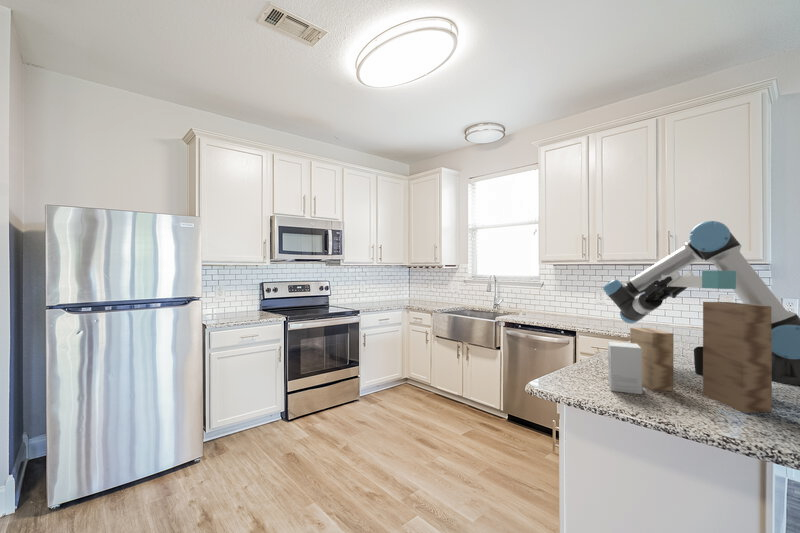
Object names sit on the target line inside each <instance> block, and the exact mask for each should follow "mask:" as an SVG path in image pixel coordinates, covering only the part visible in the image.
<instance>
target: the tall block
mask: <svg viewBox="0 0 800 533" xmlns="http://www.w3.org/2000/svg"><path fill="white" fill-rule="evenodd" d="M702 347H703V375H702V396H703V397H707V398H709V399H711V400H713V401H716V402H719V403H721V404H723V405H725V406H728V407H730V408H732V409H735V410H737V411H739V412H742V413H772V412H773V411H772V409H773V403H772V401H773V400H772V399H773V398H772V396H773V395H772V394H773V392H772V391H773V390H772V383H773V382H772V334H771V306H765V305H754V304H744V303H743V302H741V303H740V302H731V301H702Z"/></svg>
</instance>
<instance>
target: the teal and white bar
mask: <svg viewBox="0 0 800 533" xmlns="http://www.w3.org/2000/svg"><path fill="white" fill-rule="evenodd" d="M680 276H681V277H680V278H679V279H678V280H676V281H675V282H674V283H672V284H671V285H670V286H673V287H688V288H697V289H715V290H716V289H717V290H718V289H719V290H733V289H736V271H719V270H701V275H694V276H683V275H680ZM666 277H668V276H665V275H662V280H664V279H665V278H666ZM666 285H667V284H666ZM667 287H668V285H667Z"/></svg>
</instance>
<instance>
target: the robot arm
mask: <svg viewBox="0 0 800 533" xmlns="http://www.w3.org/2000/svg"><path fill="white" fill-rule="evenodd" d="M741 248H742V244H740V242H739V241H738V240H737V238H736V237H735V236H734V235H733V233H732V232H731V231H730V228H728V226H727V225H726V224H724V223H722V222H720V221H715V220H709V221H704V222H700V223H698V224H697V225H695V226H694V227H693V228H692V230H691V231H690V233H689V239H688V240H687V241H686V242H684V246H682V247H681V248H678V249H677V250H676V251H674V252H672V253H671V254H669V255H668V256H665V257H664V258H663V259H661V260H659V261H658V262H657V263H655V264H653V265H652V266H650V267H647V269H645V270H643V271H642V272H641V273H639V274H637V275H635V276H634V277H632V278H631V279H630V280H627V281H626V282H624V283H622V282H621V281H620V280H619V279H612V280H611V281H609V282H607V284H605V285H603V291H604V293H605V294H606V295H607V296H608V298H610V299H611V301H613V303H614V304H615V306H617V308H618V309H619V310H620V312H619V316H620V318H621V320H622V321H624V322H625V323H627V324H636V323H637V322H639V321H641V320H642V319H643V318H645V317H647V316H648V315H649V314H650V313H652V312H653V311H654V310H656V309H657V308H660V306H662V304H663V301H665V300H666V299H668V298H669V297H670V298H672V299H676V298H677V296H679V295H680V294H681V293H682V292H684V291H685V290H686V289H688V288H689V287H673V286H670V285H671V284H672V283H674V282H675V281H676V280H678V279H679V278H680V277H681V276H695V275H694V272H693V271H692V270H688V271H687V272H685V273H684V274H683V275H681V274H680V271H682V270H684V269H685V268H687V267H688V266H690V265H692V264H694V263H695V262H696V261H705V262H706V263H710V264H712V265H714V266H715V267H716V269H717V271H736V289H732V290H733V291H734V292H735V295H737V297H738V298H739V299H740V301H741V303H744V304H754V305H765V306H771V334H772V381H773V382H777V383H782V384H787V385H792V386H794V385H795V386H800V317H799V315H798V314H797V313H796V312H793V311H788V310H787V309H786V308H785V307H784V305H783V304H782V303H781V302H780V301H779V299H778V297H777V296H776V295H775V294H774V292H772V290H771V289H770V288H769V286H767V284H766V283H765V281H764V280H763V279H762V278H761V276H760V275H759V274H758V273H757V272H756V270H755V269H754V268H753V266H751V264H750V262H748V260H747V259H746V257H745V256H744V255H743V254H742V253H741ZM662 275H665V276H668V277H666V278H665V279H664V280H662ZM666 284H667V285H668V286H667V285H666Z"/></svg>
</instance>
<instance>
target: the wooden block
mask: <svg viewBox="0 0 800 533" xmlns="http://www.w3.org/2000/svg"><path fill="white" fill-rule="evenodd" d="M629 335H630V337H629V338H630V342H629V343H633V344H638V345H639V347H641V348H642V387H644V388H646V389H648V390H651V391H664V392H665V391H668V392H669V391H670V392H672V391H674V333H673V332H669V331H666V330H665V331H664V330H660V329H655V328H652V327H630V334H629Z"/></svg>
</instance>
